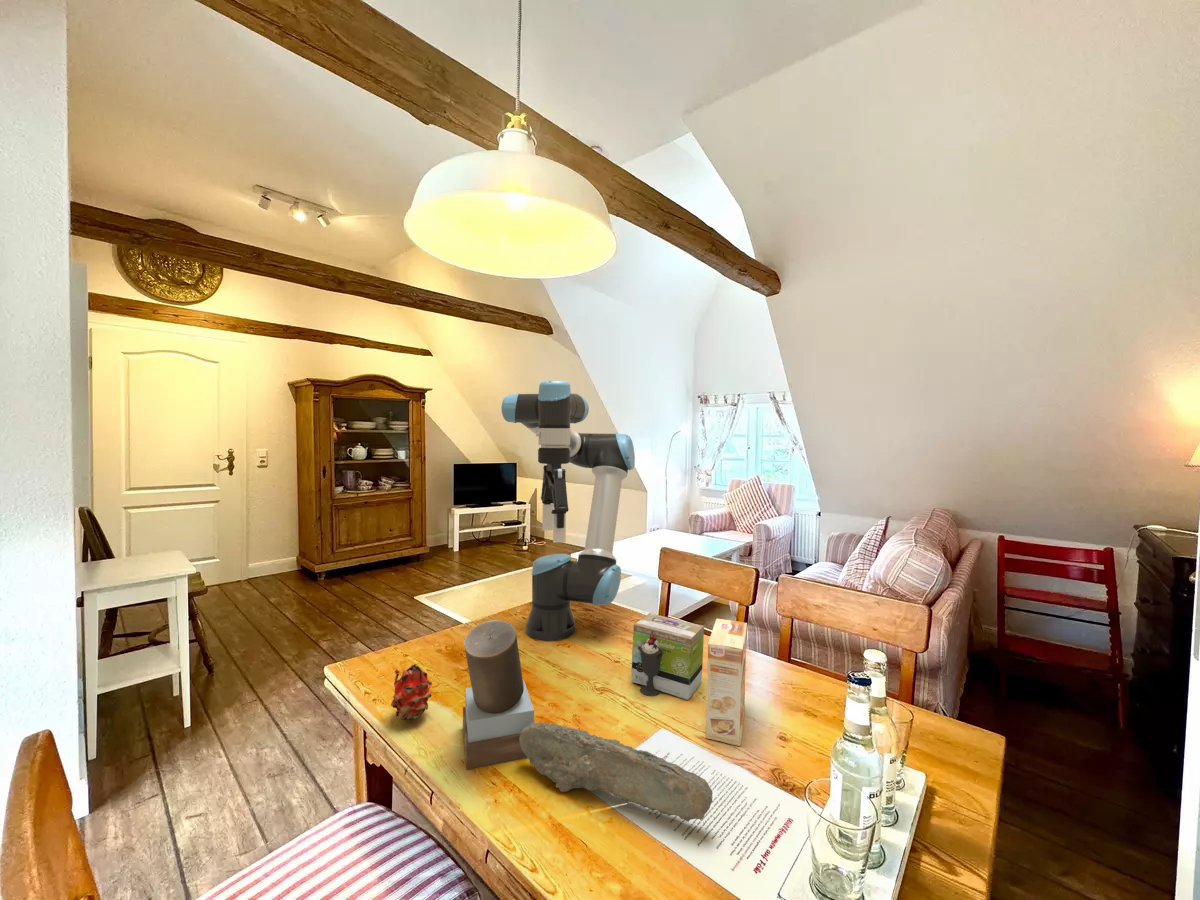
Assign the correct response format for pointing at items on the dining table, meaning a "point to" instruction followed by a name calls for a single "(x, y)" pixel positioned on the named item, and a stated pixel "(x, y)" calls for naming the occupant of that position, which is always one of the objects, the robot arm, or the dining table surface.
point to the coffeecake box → (726, 681)
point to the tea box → (670, 654)
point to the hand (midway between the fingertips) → (553, 536)
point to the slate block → (497, 718)
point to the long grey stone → (614, 770)
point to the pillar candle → (494, 666)
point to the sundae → (650, 663)
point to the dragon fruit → (411, 693)
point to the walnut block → (491, 749)
